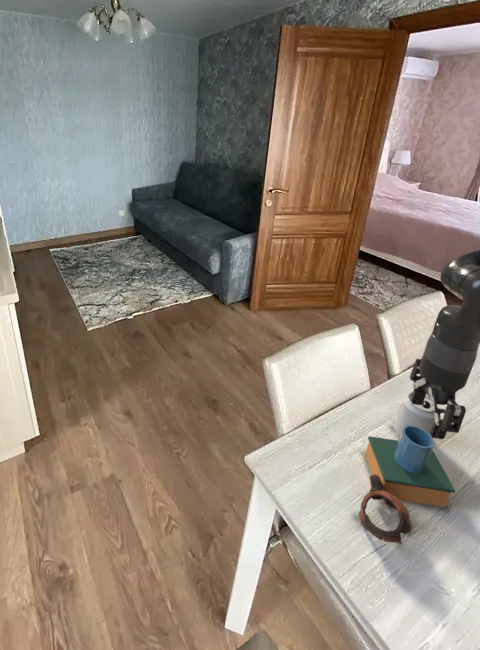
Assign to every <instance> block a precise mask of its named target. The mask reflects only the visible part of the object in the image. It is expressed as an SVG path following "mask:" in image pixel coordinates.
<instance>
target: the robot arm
mask: <svg viewBox="0 0 480 650" xmlns="http://www.w3.org/2000/svg"><path fill="white" fill-rule="evenodd" d="M439 277H440V278H439V279H440V283H441V284H442V285H443V286H444V288H445V289H447V290H448V291H449V292H450V293H452V294H454V296H456V297H457V298H459V299H460V300H462V304H461V305H456V304H450V305H446V306H443V307H442V308H441V309H440V310H439V312H438V314H437V317H436V319H435V322H434V325H433V328H432V332H431V334H430V336H429V337H428V339H427V342H426V345H425V347H424V351H423V354H422V356H421V358H416V359H415V362H414V364H413V366H412V369H411V372H410V375H409V380H410V381H412V382H413V383H412V388H413V391H412V392H413V394H412V397H411V402H412V404H415V405H422V404H423V402H424V399H425V396H428V397H429V399H430V401H431V410H432V411H433V412H434V416H435V421H434V423H433V426H432V429H431V431H430V435H431V437H432V438H433V439H437V440H445V438H446V435H447V433H455V434H459V432H460V430H461V427H462V423H463V420H464V418H465V415H466V412H467V408H466V406H465V405H460V404H458V402H457V401H456V394H457V392H458V391H460V390H462V389H464V388H465V387H466V384H467V382H468V379H469V378H470V375H471V373H472V370H473V368H474V365H475V362H476V359H477V356H478V350H479V347H480V249H477V250H474V251H469V252H468V253H464V254H461V255H460V256H457V257H455V258H453V259H452V260H450V261H449V262H448V263H447V264H446V265H445V266H444V267H443V268H442V270H441V272H440V276H439ZM438 405H440V406H444V408H440V407H438ZM441 414H443V417H441Z"/></svg>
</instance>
